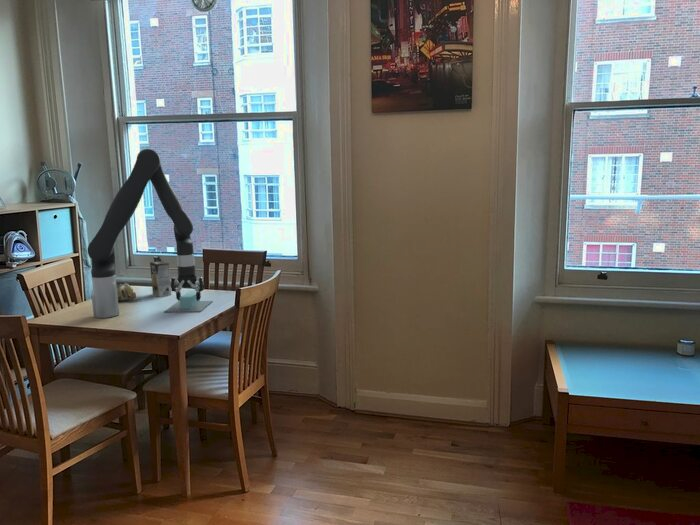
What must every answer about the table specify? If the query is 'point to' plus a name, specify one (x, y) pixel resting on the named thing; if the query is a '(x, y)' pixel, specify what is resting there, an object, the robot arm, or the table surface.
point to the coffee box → (160, 278)
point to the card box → (188, 300)
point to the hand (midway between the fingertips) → (188, 300)
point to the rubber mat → (197, 308)
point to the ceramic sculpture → (125, 292)
